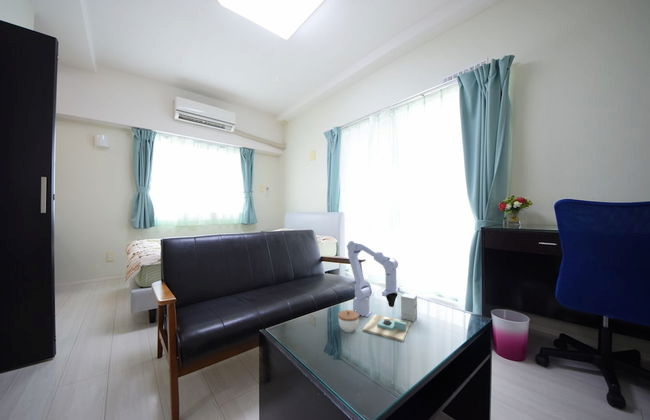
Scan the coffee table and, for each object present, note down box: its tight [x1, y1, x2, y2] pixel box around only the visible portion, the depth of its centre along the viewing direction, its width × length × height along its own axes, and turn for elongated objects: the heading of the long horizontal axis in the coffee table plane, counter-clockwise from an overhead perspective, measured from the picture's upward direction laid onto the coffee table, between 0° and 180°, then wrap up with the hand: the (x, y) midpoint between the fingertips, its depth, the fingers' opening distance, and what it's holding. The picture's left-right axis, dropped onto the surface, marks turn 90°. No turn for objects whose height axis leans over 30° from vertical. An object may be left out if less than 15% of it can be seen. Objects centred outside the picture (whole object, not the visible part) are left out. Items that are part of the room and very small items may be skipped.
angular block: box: [377, 318, 406, 331], centre depth 116 cm, size 14×8×3 cm, turn 56°
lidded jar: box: [337, 309, 360, 333], centre depth 116 cm, size 11×11×9 cm
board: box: [362, 314, 412, 342], centre depth 118 cm, size 20×20×4 cm
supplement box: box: [400, 292, 418, 322], centre depth 129 cm, size 7×7×13 cm
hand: (391, 306), depth 122 cm, fingers closed
